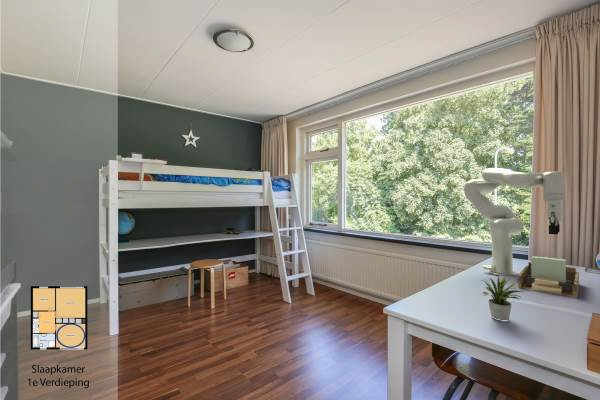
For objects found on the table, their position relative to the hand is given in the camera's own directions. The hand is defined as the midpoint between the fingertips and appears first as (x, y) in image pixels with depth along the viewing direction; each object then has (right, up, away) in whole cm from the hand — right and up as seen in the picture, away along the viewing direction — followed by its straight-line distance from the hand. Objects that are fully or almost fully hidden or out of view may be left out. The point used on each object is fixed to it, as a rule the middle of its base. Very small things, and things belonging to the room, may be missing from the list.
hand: (554, 233), depth 133 cm
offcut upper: (-8, -24, -5) cm, 26 cm away
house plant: (-49, -29, -30) cm, 64 cm away
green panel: (-4, -26, -1) cm, 26 cm away
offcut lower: (-8, -26, -5) cm, 28 cm away
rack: (-2, -27, +1) cm, 27 cm away
